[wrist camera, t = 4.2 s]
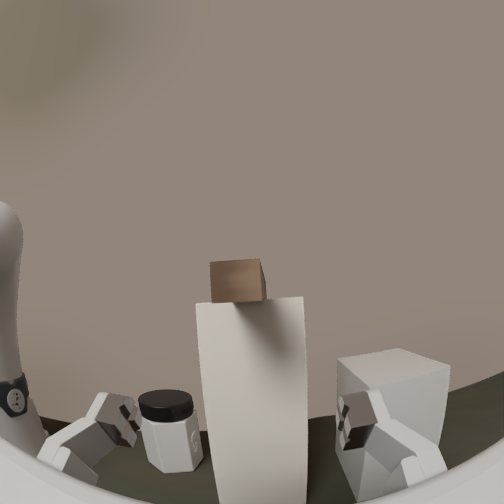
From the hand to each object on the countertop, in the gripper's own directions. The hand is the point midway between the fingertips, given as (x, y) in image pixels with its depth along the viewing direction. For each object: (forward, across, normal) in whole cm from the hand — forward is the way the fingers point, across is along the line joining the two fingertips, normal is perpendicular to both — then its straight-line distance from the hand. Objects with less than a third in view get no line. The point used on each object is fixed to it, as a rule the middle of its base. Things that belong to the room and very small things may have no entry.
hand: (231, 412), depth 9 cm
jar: (+12, -14, -32) cm, 37 cm away
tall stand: (+8, 0, -30) cm, 31 cm away
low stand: (+8, +16, -30) cm, 34 cm away
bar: (+17, 0, -5) cm, 18 cm away
